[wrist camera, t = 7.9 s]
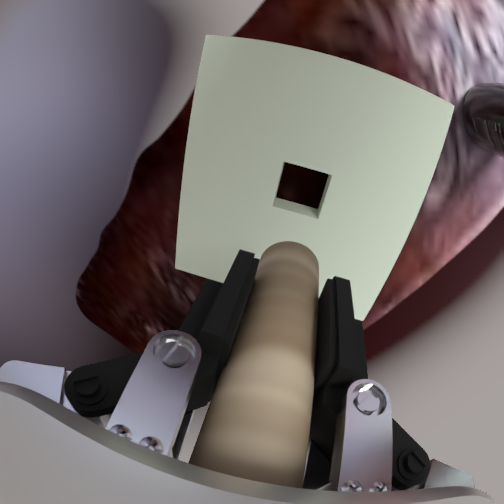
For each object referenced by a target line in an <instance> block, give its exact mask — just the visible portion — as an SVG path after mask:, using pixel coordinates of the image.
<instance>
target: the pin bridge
mask: <svg viewBox="0 0 504 504" xmlns="http://www.w3.org/2000/svg"><path fill="white" fill-rule="evenodd" d="M454 107H455V106H454V105H452V104H450V103H449V102H447V101H445V100H443V99H441V98H439V97H437V96H435V95H433V94H431V93H429V92H427V91H425V90H423V89H421V88H419V87H416V86H414V85H412V84H410V83H408V82H405V81H403V80H401V79H398V78H396V77H393V76H391V75H388V74H386V73H383V72H380V71H378V70H375V69H372V68H370V67H367V66H364V65H361V64H358V63H355V62H352V61H349V60H345V59H342V58H339V57H335V56H332V55H328V54H324V53H321V52H317V51H313V50H309V49H304V48H300V47H295V46H290V45H285V44H280V43H275V42H269V41H263V40H256V39H249V38H241V37H231V36H220V35H206V37H205V41H204V46H203V51H202V55H201V60H200V65H199V70H198V76H197V81H196V87H195V92H194V98H193V104H192V110H191V117H190V123H189V130H188V137H187V144H186V152H185V160H184V168H183V177H182V186H181V196H180V206H179V218H178V230H177V244H176V261H175V268H176V269H179V270H182V271H185V272H188V273H192V274H195V275H198V276H201V277H205V278H208V279H211V280H215V281H218V282H221V283H224V281H225V279H226V277H227V275H228V272H229V270H230V268H231V266H232V264H233V262H234V260H235V258H236V256H237V254H238V252H239V250H240V249H241V250H244V251H248V252H251V253H255V256H254V258H257V259H260V258H261V256H262V254H263V252H264V251H265V250H266V249H267V248H268V247H270V246H271V245H273V244H275V243H278V242H283V241H293V242H297V243H300V244H303V245H305V246H306V247H308V248H309V249H310V250H311V251H312V252H313V253H314V254H315V256H316V258H317V260H318V263H319V297H320V294H321V292H322V290H323V287H324V285H325V283H326V281H327V279H328V278H329V279H333V277H334V276H337V277H341V278H344V279H348V280H350V284H351V292H352V300H353V308H354V317H355V319H357V320H361V321H363V320H364V319H365V317H366V315H367V314H368V312H369V310H370V308H371V307H372V305H373V303H374V301H375V300H376V298H377V296H378V294H379V292H380V291H381V289H382V287H383V285H384V283H385V281H386V279H387V278H388V276H389V274H390V272H391V270H392V268H393V266H394V264H395V262H396V260H397V258H398V256H399V254H400V252H401V250H402V248H403V246H404V243H405V241H406V239H407V237H408V235H409V233H410V230H411V228H412V226H413V224H414V221H415V219H416V217H417V214H418V212H419V210H420V207H421V205H422V202H423V200H424V198H425V195H426V193H427V190H428V187H429V185H430V182H431V179H432V177H433V174H434V171H435V168H436V166H437V163H438V160H439V157H440V154H441V151H442V148H443V145H444V142H445V138H446V135H447V132H448V128H449V125H450V121H451V118H452V114H453V110H454ZM285 162H287V163H291V164H295V165H298V166H302V167H306V168H309V169H313V170H316V171H319V172H323V173H326V174H329V176H328V179H327V182H326V185H325V189H324V192H323V195H322V198H321V201H320V205H319V208H318V209H315V208H312V207H309V206H305V205H302V204H298V203H295V202H291V201H287V200H284V199H280V198H276V195H277V191H278V187H279V183H280V179H281V175H282V171H283V167H284V163H285ZM259 261H260V260H259Z"/></svg>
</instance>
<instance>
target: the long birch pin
mask: <svg viewBox="0 0 504 504" xmlns="http://www.w3.org/2000/svg"><path fill="white" fill-rule="evenodd" d="M318 300H319V263H318V260H317V258H316V256H315V254H314V253H313V252H312V251H311V250H310V249H309V248H308V247H306V246H305V245H303V244H300V243H297V242H293V241H283V242H278V243H275V244H273V245H271V246H270V247H268V248H267V249H266V250H265V251H264V252H263V254H262V256H261V258H260V261H259V265H258V268H257V272H256V276H255V280H254V283H253V286H252V289H251V292H250V295H249V298H248V301H247V304H246V307H245V310H244V313H243V316H242V319H241V322H240V325H239V328H238V331H237V334H236V337H235V340H234V343H233V346H232V348H231V351H230V354H229V357H228V360H227V363H226V366H225V367H224V368H223V369H222V371H221V374H220V376H219V379H218V382H217V385H216V388H215V391H214V393H213V396H212V399H211V403H210V405H209V408H208V410H207V413H206V416H205V419H204V421H203V424H202V427H201V430H200V433H199V435H198V438H197V441H196V444H195V447H194V450H193V452H192V455H191V458H190V460H189V464H192V465H195V466H198V467H201V468H205V469H208V470H212V471H215V472H219V473H223V474H227V475H230V476H235V477H239V478H243V479H248V480H252V481H257V482H263V483H268V484H274V485H280V486H287V487H294V488H302V486H303V480H304V473H305V466H306V458H307V451H308V442H309V434H310V425H311V415H312V405H313V393H314V380H315V366H316V349H317V329H318Z"/></svg>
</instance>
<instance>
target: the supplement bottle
mask: <svg viewBox="0 0 504 504" xmlns="http://www.w3.org/2000/svg"><path fill="white" fill-rule="evenodd" d="M463 116H464V122H465V125H466V128H467V131H468V133H469V135H470V136H471V138H472V139H473V140H474V142H475V143H476V144H477V145H478V146H480V147H481V148H483V149H485V150H487V151H489V152H491V153H494V154H496V155H498V156H501V157H503V158H504V83H482V84H478V85H475V86H474V87H472V88H471V89H470V90H469V92H468V93H467V95H466V97H465V100H464V106H463Z"/></svg>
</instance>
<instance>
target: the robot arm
mask: <svg viewBox="0 0 504 504" xmlns="http://www.w3.org/2000/svg"><path fill="white" fill-rule="evenodd" d="M254 256H255V253H251V252H248V251H244V250H241V249H240V250H239V252H238V254H237V256H236V258H235V260H234V262H233V264H232V266H231V268H230V270H229V272H228V275H227V277H226V279H225V281H224V283H221V282H218V281H214V280H211V279H207V280H206V282H205V283H204V285H203V287H202V289H201V291H200V292H199V294H198V296H197V298H196V300H195V301H194V303H193V305H192V307H191V309H190V310H189V312H188V314H187V316H186V318H185V319H184V321H183V323H182V325H181V327H180V329H179V330H178V331H176V330H169V331H164V332H161V333H158V334H157V335H155V336H154V337H153V338H152V339H151V340H150V342H149V343H148V345H147V347H146V349H145V351H143V352H139V353H135V354H132V355H128V356H124V357H120V358H116V359H112V360H107V361H103V362H99V363H94V364H90V365H86V366H82V367H79V368H76V369H75V370H73V371H66V369H65V368H63V367H55V366H48V365H41V364H34V363H28V362H22V361H9V362H7V363H5V364H4V365H3V366H2V367H1V368H0V504H496V502H495V500H494V499H493V498H492V497H491V496H490V495H488V494H487V493H485V492H483V491H481V490H478V489H476V488H475V484H474V480H473V478H472V477H471V475H469V474H468V473H466V472H463V471H461V470H459V469H456V468H454V467H451V466H449V465H447V464H444V463H442V462H440V461H437V460H435V459H432V460H431V461H430V460H429V457H428V455H427V453H426V452H425V451H424V450H423V448H421V446H420V445H419V444H418V443H417V442H416V441H414V440H413V438H412V437H410V436H409V434H407V432H406V431H405V430H404V429H403V428H402V427H401V426H400V425H399V424H398V423H397V422H396V421H395V420H394V419H393V418H392V407H391V399H390V396H389V394H388V392H387V390H385V388H384V387H383V386H382V385H380V384H379V383H377V382H375V381H373V380H370V379H368V375H367V364H366V353H365V344H364V335H363V326H362V322H361V321H360V320H357V319H355V317H354V308H353V300H352V292H351V284H350V280H348V279H344V278H341V277H337V276H334V277H333V279H329V278H328V279H327V281H326V283H325V285H324V287H323V290H322V292H321V294H320V297H319V300H318V329H317V349H316V366H315V380H314V393H313V405H312V415H311V425H310V434H309V442H308V451H307V458H306V466H305V473H304V480H303V486H302V488H294V487H287V486H280V485H274V484H268V483H263V482H257V481H252V480H248V479H243V478H239V477H235V476H230V475H227V474H223V473H219V472H215V471H212V470H208V469H205V468H201V467H198V466H195V465H192V464H189V463H186V462H182V461H180V460H179V459H180V456H181V453H182V450H183V446H184V443H185V440H186V437H187V434H188V431H189V427H190V425H191V421H192V418H193V415H194V412H195V409H198V408H200V407H203V406H205V405H207V403H208V401H209V402H210V400H211V397H212V395H213V393H214V391H215V388H216V385H217V382H218V379H219V376H220V374H221V371H222V369H223V368H224V367H225V366H226V363H227V360H228V357H229V354H230V351H231V348H232V346H233V343H234V340H235V337H236V334H237V331H238V328H239V325H240V322H241V319H242V316H243V313H244V310H245V307H246V304H247V301H248V298H249V295H250V292H251V289H252V286H253V283H254V280H255V276H256V272H257V268H258V265H259V260H260V259H257V258H254Z"/></svg>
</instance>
